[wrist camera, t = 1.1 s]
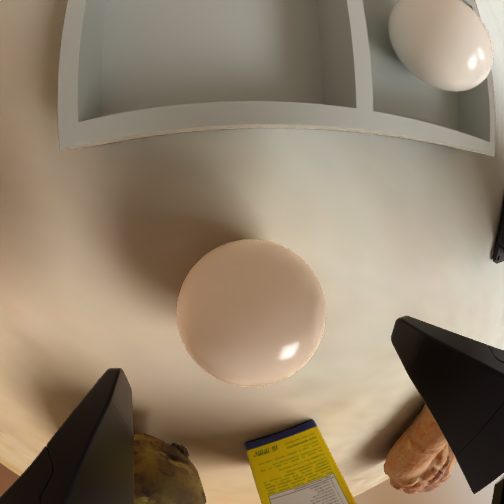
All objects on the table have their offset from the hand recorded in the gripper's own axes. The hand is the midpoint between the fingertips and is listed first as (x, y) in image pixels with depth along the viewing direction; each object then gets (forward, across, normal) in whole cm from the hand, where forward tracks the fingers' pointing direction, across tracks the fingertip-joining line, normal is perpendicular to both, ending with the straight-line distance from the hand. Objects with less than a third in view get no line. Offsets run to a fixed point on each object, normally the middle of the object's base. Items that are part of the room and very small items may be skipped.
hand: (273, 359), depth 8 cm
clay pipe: (+6, -23, +29) cm, 37 cm away
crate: (+5, -4, -16) cm, 17 cm away
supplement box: (+6, -3, +17) cm, 18 cm away
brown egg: (+5, 0, 0) cm, 5 cm away
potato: (+5, +9, +13) cm, 17 cm away
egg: (+5, -8, -11) cm, 15 cm away
